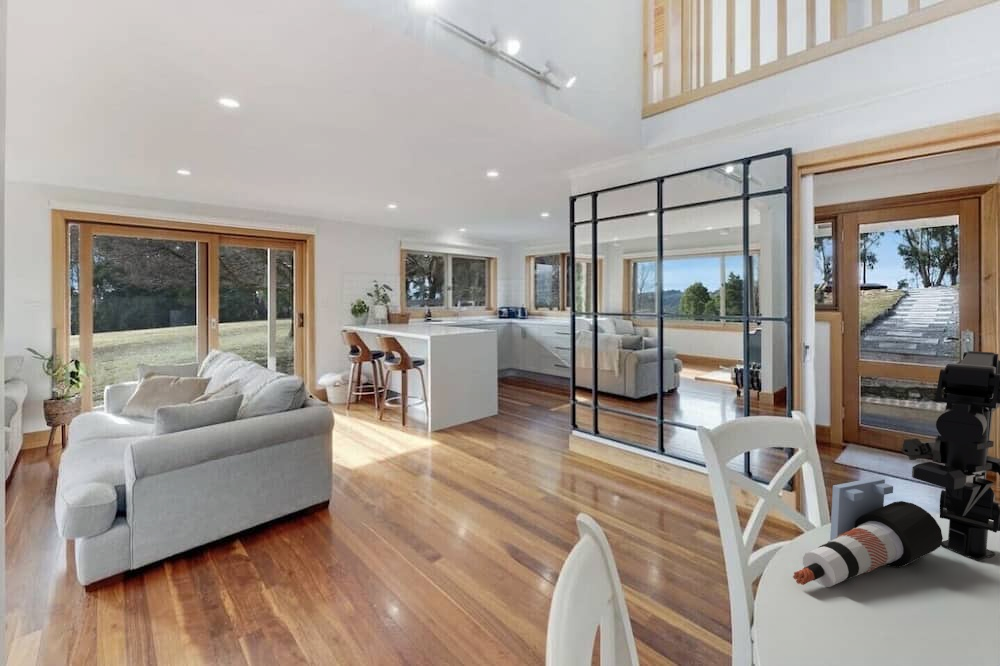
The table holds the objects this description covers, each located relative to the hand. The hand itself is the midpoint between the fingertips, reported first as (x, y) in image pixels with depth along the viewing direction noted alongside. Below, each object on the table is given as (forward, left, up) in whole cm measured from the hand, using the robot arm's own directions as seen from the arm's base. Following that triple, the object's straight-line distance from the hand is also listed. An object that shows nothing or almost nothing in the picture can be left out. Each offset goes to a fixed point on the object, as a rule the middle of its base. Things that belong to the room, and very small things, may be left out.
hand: (959, 515), depth 85 cm
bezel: (+4, -14, -13) cm, 19 cm away
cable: (+13, -9, -13) cm, 21 cm away
